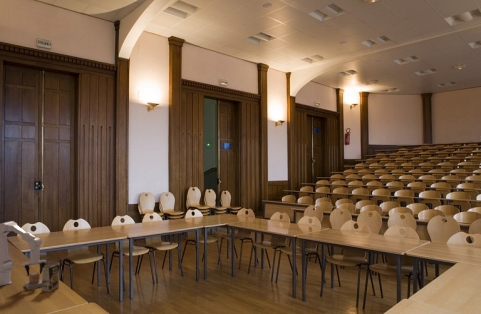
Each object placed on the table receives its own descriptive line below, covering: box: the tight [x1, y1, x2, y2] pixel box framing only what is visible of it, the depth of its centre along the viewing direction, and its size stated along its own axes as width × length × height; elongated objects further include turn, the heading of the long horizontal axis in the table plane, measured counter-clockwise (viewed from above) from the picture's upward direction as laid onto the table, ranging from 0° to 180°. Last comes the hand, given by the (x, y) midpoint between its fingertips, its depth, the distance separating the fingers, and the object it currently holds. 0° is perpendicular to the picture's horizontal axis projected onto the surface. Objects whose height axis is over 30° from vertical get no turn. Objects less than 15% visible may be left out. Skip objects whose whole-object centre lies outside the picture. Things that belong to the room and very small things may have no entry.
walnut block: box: [28, 272, 40, 284], centre depth 248 cm, size 5×5×6 cm
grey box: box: [24, 278, 42, 291], centre depth 248 cm, size 10×10×3 cm
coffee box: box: [41, 263, 60, 293], centre depth 243 cm, size 9×6×16 cm
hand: (34, 274), depth 248 cm, fingers open, 7 cm apart
